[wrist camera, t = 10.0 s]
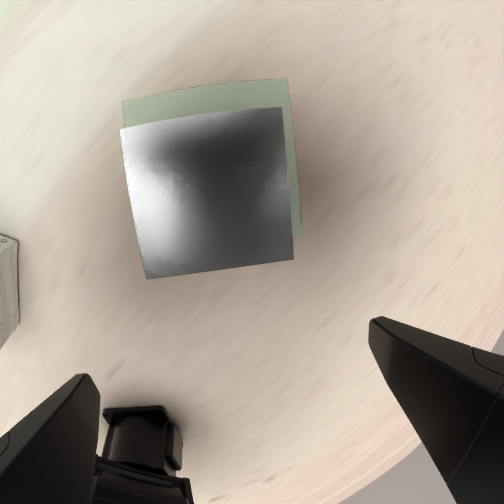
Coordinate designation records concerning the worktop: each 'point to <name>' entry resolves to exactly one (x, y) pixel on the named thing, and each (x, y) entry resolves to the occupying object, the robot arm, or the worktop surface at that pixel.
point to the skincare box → (8, 288)
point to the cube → (209, 191)
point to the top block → (221, 101)
